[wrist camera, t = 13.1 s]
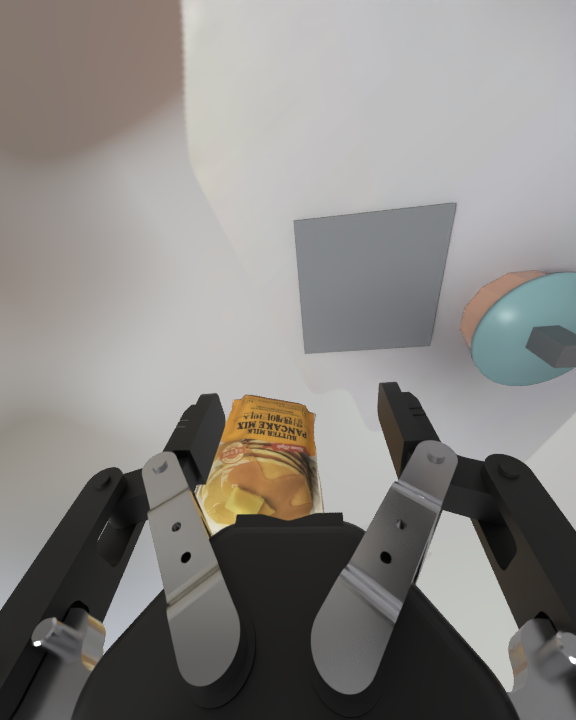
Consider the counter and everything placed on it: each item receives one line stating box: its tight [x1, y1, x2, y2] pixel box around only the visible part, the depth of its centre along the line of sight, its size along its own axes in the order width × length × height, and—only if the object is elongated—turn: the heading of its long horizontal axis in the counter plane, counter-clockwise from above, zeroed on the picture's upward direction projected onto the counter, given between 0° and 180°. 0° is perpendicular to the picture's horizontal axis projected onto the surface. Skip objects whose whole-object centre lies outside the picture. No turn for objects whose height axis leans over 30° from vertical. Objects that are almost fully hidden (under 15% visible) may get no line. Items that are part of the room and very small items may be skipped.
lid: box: [471, 272, 576, 386], centre depth 34 cm, size 16×16×6 cm
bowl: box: [460, 271, 547, 348], centre depth 39 cm, size 13×13×6 cm
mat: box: [294, 203, 456, 354], centre depth 40 cm, size 20×20×1 cm
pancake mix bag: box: [195, 395, 324, 535], centre depth 42 cm, size 7×19×28 cm, turn 79°
